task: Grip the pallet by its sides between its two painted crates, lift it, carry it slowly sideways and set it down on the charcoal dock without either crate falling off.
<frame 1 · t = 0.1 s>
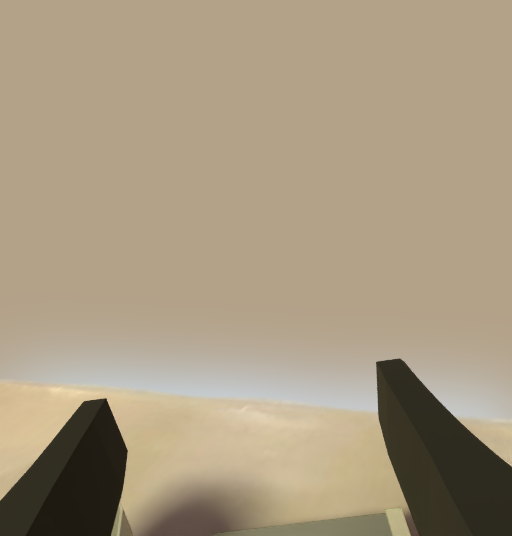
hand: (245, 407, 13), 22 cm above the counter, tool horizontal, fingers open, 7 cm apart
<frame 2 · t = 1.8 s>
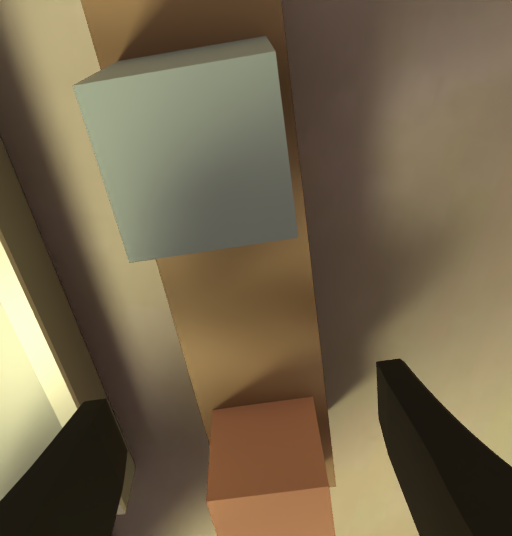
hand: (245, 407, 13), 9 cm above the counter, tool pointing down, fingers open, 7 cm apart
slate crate: (206, 124, 14), point 4 cm above the counter, touching pallet
pallet: (243, 251, 21), on the counter, touching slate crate, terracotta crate
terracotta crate: (269, 438, 20), point 4 cm above the counter, touching pallet
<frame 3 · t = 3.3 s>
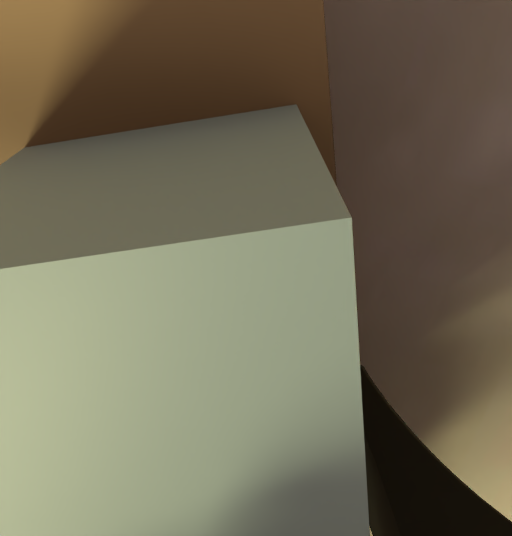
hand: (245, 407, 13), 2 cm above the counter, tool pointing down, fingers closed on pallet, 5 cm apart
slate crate: (188, 248, 8), point 4 cm above the counter, touching pallet
pallet: (244, 356, 15), on the counter, touching gripper, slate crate
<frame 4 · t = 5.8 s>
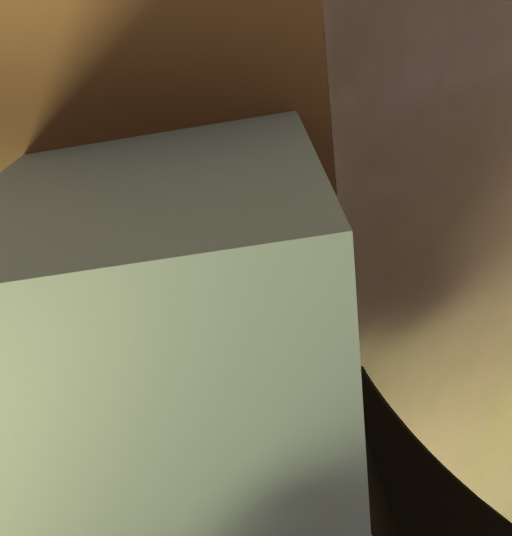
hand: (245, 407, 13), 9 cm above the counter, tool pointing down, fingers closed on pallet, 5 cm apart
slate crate: (188, 254, 8), point 11 cm above the counter, touching pallet
pallet: (244, 357, 15), point 7 cm above the counter, touching gripper, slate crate, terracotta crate
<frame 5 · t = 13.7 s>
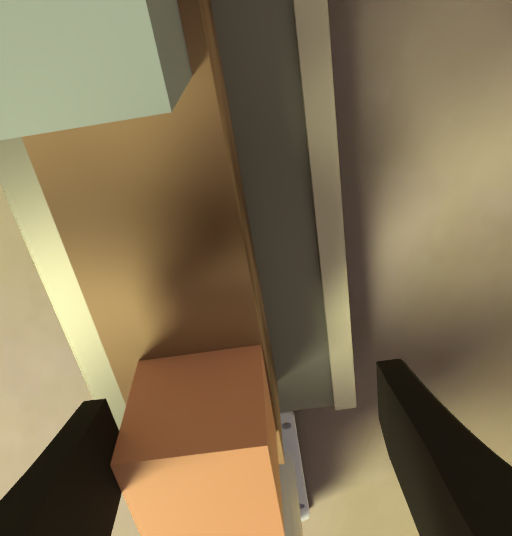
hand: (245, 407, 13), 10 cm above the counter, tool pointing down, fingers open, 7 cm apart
dock: (178, 162, 20), on the counter
pallet: (171, 183, 18), point 2 cm above the counter, touching dock, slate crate, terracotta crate
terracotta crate: (210, 398, 17), point 7 cm above the counter, touching gripper, pallet
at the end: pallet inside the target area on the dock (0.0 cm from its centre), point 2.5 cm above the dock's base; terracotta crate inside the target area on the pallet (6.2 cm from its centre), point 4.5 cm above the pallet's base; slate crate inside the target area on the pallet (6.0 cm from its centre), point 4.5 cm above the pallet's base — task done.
